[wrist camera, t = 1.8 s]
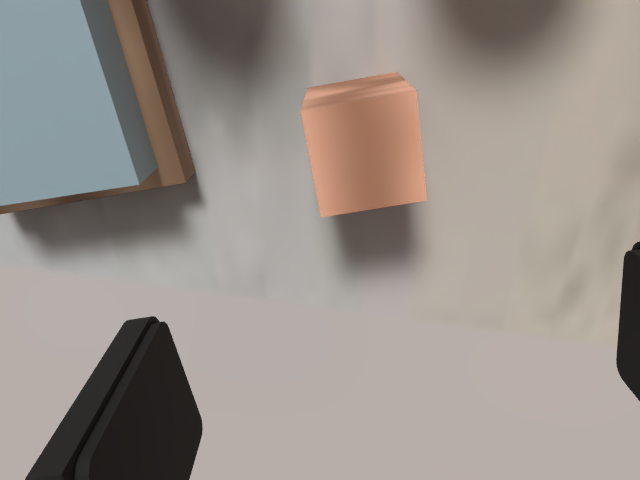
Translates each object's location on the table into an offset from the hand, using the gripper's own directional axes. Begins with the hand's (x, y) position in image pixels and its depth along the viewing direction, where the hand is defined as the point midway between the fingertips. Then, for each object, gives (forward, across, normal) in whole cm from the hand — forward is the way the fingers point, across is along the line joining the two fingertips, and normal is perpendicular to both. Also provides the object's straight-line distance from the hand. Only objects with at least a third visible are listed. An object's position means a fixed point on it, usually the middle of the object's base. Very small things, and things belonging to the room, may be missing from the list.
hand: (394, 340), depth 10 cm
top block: (+18, +16, -5) cm, 25 cm away
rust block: (+21, 0, 0) cm, 21 cm away
